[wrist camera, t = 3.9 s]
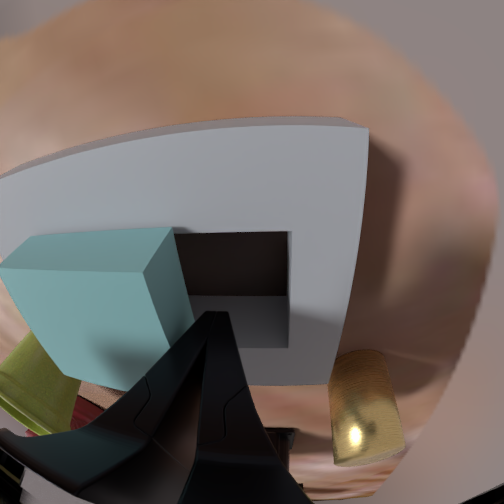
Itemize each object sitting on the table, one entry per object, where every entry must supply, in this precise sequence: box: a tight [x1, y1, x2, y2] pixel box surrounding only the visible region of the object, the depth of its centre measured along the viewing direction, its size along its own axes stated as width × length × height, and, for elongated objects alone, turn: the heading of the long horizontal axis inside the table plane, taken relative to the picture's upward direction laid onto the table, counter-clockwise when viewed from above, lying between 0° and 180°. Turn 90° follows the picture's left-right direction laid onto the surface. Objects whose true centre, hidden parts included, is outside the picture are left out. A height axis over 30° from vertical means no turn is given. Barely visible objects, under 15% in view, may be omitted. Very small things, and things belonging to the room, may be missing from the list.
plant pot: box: [0, 330, 82, 435], centre depth 16 cm, size 9×9×9 cm
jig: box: [0, 116, 369, 386], centre depth 12 cm, size 12×17×4 cm
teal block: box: [0, 227, 195, 392], centre depth 9 cm, size 6×7×2 cm
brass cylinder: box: [327, 350, 406, 467], centre depth 15 cm, size 4×4×7 cm
